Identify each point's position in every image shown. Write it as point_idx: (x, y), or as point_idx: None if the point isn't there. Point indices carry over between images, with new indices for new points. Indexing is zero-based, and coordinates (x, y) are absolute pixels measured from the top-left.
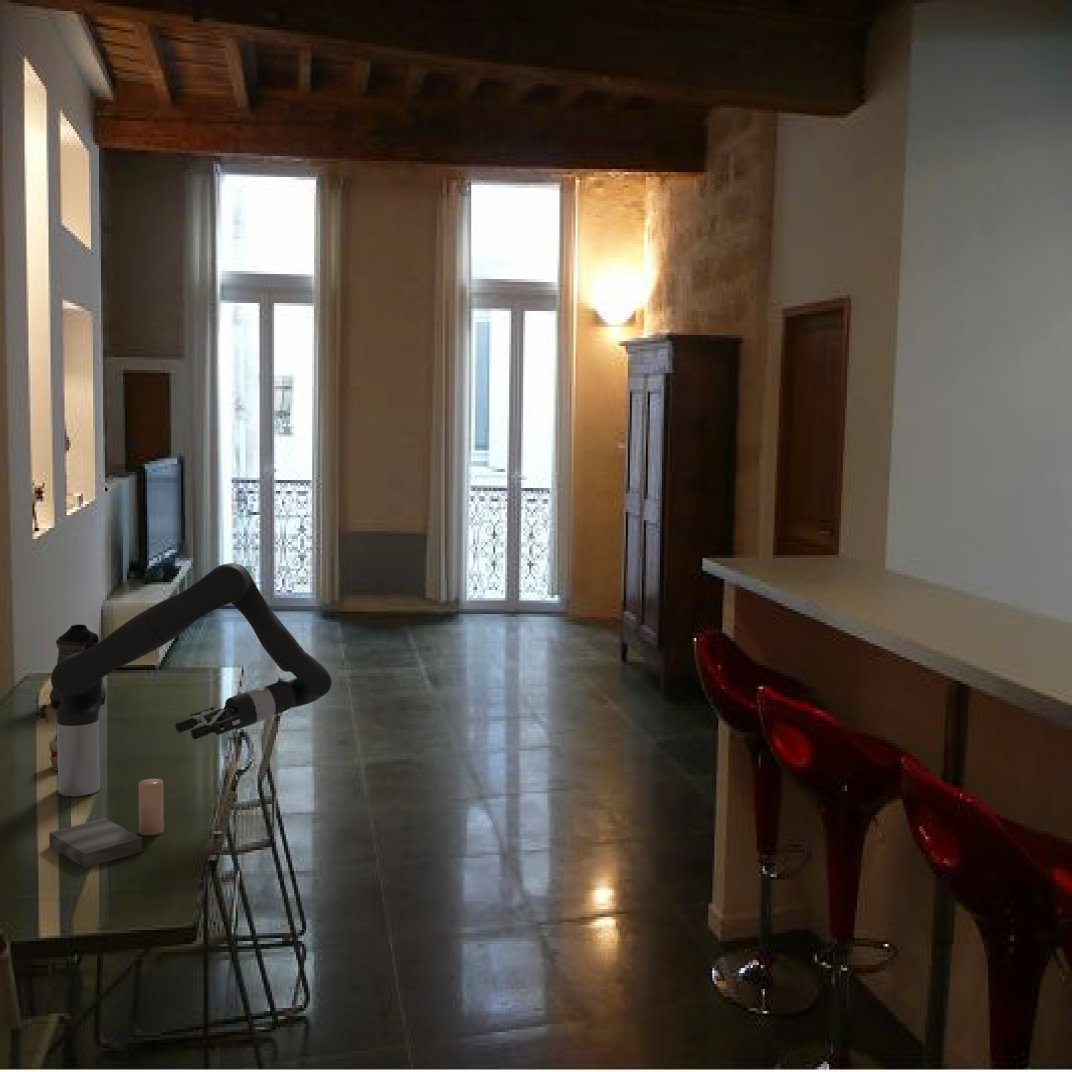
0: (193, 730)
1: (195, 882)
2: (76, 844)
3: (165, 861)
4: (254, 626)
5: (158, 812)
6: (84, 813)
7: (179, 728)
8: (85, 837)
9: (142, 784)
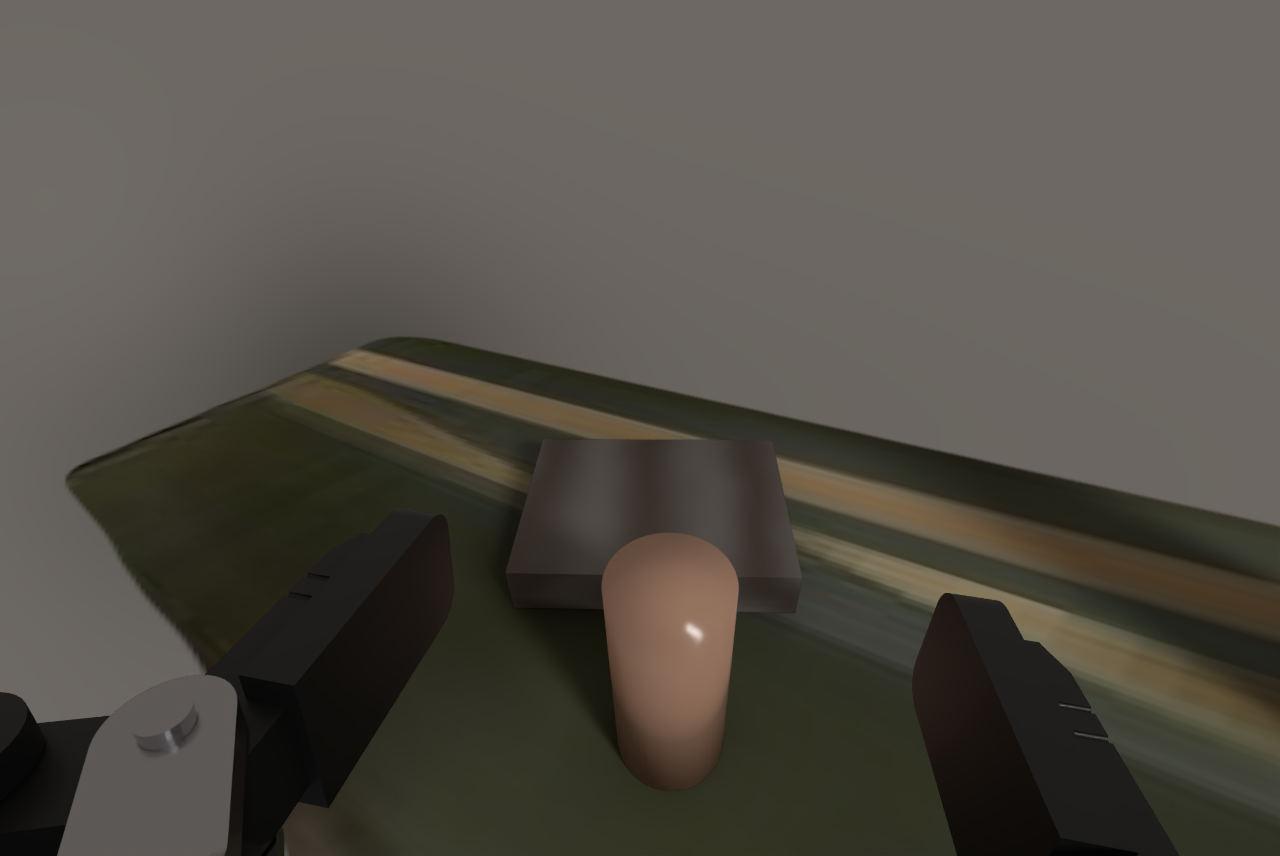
0: (396, 522)
1: (165, 597)
2: (624, 448)
3: None
4: None
5: (611, 683)
6: (1066, 650)
7: (934, 669)
8: (658, 477)
9: (669, 543)
